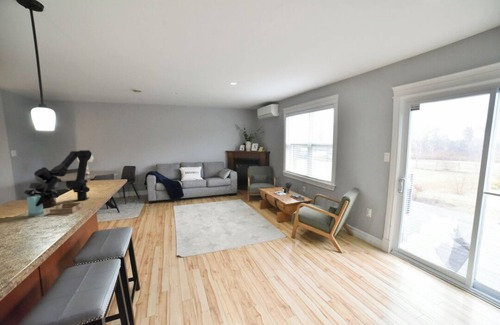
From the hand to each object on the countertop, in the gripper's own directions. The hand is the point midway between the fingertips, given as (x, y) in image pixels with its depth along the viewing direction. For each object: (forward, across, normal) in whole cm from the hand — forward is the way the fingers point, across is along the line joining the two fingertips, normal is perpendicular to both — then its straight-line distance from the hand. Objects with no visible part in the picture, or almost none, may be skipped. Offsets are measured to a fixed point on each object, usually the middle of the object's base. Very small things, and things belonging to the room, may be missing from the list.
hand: (32, 205), depth 127 cm
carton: (-2, +12, +12) cm, 17 cm away
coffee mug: (-8, -9, +18) cm, 22 cm away
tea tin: (+4, 0, +6) cm, 7 cm away
